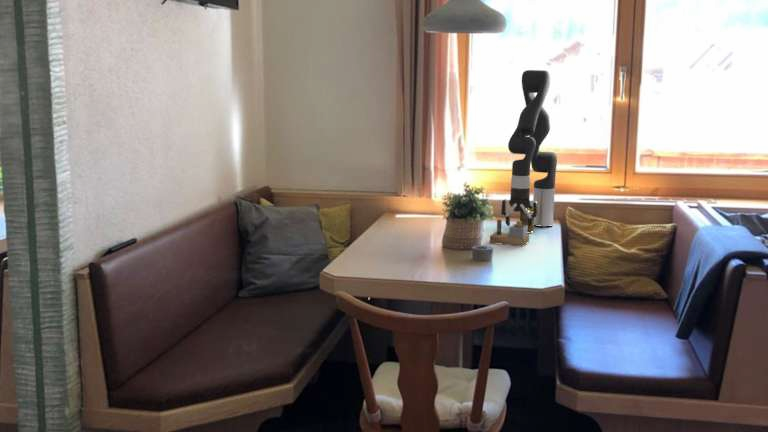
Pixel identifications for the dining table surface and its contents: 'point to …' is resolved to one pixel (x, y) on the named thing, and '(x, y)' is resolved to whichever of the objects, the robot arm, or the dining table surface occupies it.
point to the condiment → (525, 217)
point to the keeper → (507, 236)
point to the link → (518, 231)
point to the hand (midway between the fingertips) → (518, 226)
